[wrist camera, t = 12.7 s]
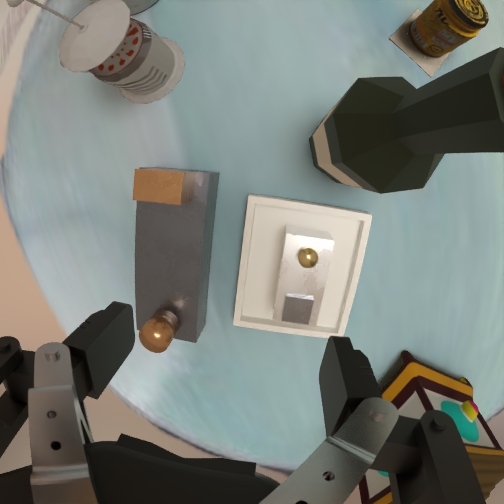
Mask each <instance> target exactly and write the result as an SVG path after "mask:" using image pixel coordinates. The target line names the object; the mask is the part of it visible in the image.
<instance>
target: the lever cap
mask: <svg viewBox="0 0 504 504" xmlns="http://www.w3.org/2000/svg"><path fill="white" fill-rule="evenodd" d="M334 242H335V241H334V239H333V238H332V236H331V235H330V234H329V232H326V231H319V230H313V229H307V228H300V227H294V226H287V225H286V228H285V235H284V241H283V248H282V254H281V260H280V267H279V273H278V279H277V285H276V291H275V297H274V303H273V314H272V321H274V322H281V323H289V324H296V325H304V326H312V327H316V324H317V320H318V316H319V312H320V308H321V303H322V299H323V295H324V290H325V286H326V281H327V277H328V272H329V267H330V262H331V257H332V252H333V247H334Z"/></svg>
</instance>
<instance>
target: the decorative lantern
mask: <svg viewBox="0 0 504 504" xmlns="http://www.w3.org/2000/svg"><path fill="white" fill-rule="evenodd" d="M401 357H402V361H403V365H402V368H401V369H400V371H399V372H398V373H397V374H396V375H395V377H394V378H393V379H392V380H391V381H390V382H389V384H388V385H387V386H386V387H385V388H384V389H383V390H382V391H381V395H382V398H383V399H385V400H387V401H389V402H391V403H392V404H393V405H394V406H395V407H396V408H397V410H398V413H399V415H401V416H405V417H410V418H415V419H420V418H421V417H422V415H423V414H424V413H425V412H426V411H429V410H440V411H443V412H445V413H447V414H448V415H450V416H451V417H452V418H453V420H454V422H455V424H456V426H457V428H458V431H459V433H460V435H461V438H462V440H463V442H464V445H465V447H466V450H467V452H468V455H469V457H470V460H471V462H472V465H473V467H474V470H475V473H476V475H477V478H478V481H479V484H480V487H481V490H482V492H483V495H484V498H485V500H486V499H487V498H488V497H489V495H490V491H492V490H493V489H494V488H495V485H496V484H497V483H499V482H500V481H501V480H502V479H503V478H504V450H503V449H502V448H501V447H500V445H499V443H498V442H497V440H496V438H495V436H494V435H493V433H492V431H491V430H490V428H489V426H488V425H487V423H486V422H485V420H484V418H483V417H482V415H481V414H480V412H479V410H478V407H477V405H476V404H475V403H474V402H473V388H472V385H471V384H470V383H469V381H468V380H467V379H466V378H461V379H460V380H458V379H456V378H453V377H451V376H449V375H447V374H444V373H442V372H440V371H438V370H436V369H433V368H431V367H429V366H427V365H425V364H422V363H420V362H419V361H417V360H416V359H414V357H413V356H412V355H411V354H410V353H409V352H408V351H404V352H403V353H402V355H401ZM359 490H360V495H361V503H362V504H393V500H392V494H391V487H390V481H389V475H388V472H382V471H377V470H372V469H368V470H367V472H366V473H365V475H364V476H363V478H362V479H361V481H360V482H359Z"/></svg>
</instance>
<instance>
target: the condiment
mask: <svg viewBox="0 0 504 504" xmlns="http://www.w3.org/2000/svg"><path fill="white" fill-rule="evenodd" d="M488 20H489V19H488V13H487V11H486V9H485V7H484V5H483V4H482V3H481V1H480V0H434V1H433V2H432V3H431V4H430V5H429V6H428V7H427V8H426V9H425V10H424V11H423V12H421V11H420V10H419V9H417V10H416V11H415V12H414V13H413V14H412V15H411V16H410V17H409V18H408V19H407V20H406V21H405V22H404V23H403V24H402V26H401V27H400V28H399V29H398V30H397V31H396V32H395V33H394V34H393V35H392V36H391V37H390V39H391V40H392V41H393V42H394V43H395V44H396V45H397V46H398V47H400V48H401V49H402V50H403V51H404V52H405V53H406V54H407V55H408V56H409V57H411V58H412V59H413V61H414V62H416V63H417V64H418V65H419V66H420V67H421V68H422V69H423V70H424V71H425V72H427V73H428V74H429V75H430V76H431V77H432V76H433V74H434V73H435V72H436V71H437V69H438V68H439V67H440V66H441V64H442V63H443V62H444V60H445V59H446V58H447V56H448V55H449V54H450V53H451V51H453V50H454V49H455V48H457V47H458V46H460V45H462V44H464V43H465V42H467V41H469V40H470V39H472V38H473V37H475V36H476V35H477V34H478V32H479V30H481V28H483V27H485V26H486V25H487V23H488ZM407 33H408V34H407ZM425 57H429V58H425Z"/></svg>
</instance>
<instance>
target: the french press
mask: <svg viewBox="0 0 504 504" xmlns="http://www.w3.org/2000/svg"><path fill="white" fill-rule="evenodd" d="M23 1H24V0H7V3H8V5H9V6H10V7H17V6H18V5H20V4H21V3H22V2H23ZM27 1H29V2H31V3H33V4H36V5H38V6H40V7H42V8H44V9H46V10H48V11H50V12H52V13H53V14H55V15H57V16H59V17H61V18H63V19H65V20H67V21H69V22H70V24H69V26H68V27H67V29H66V30H65V32H64V35H63V37H62V40H61V43H60V59H61V61H60V63H61V65H62V66H63V67H65V68H67V69H69V70H70V71H72V72H91V73H93V74H94V76H95V77H97V78H98V79H99V80H102V81H104V80H105V81H106V83H109V84H111V85H114V86H116V87H118V88H119V90H120V91H121V93H122V95H123V96H124V97H125V98H127V99H128V100H130V101H132V102H133V103H143V104H147V103H150V102H153V101H156V100H160V99H161V98H162V97H164V96H165V95H167V94H168V93H169V92H171V91H172V90H173V89H174V87H175V86H176V84H177V83H178V82H179V80H180V79H181V76H182V73H183V69H184V66H185V62H184V55H183V51H182V50H181V48H180V47H179V46H178V44H177V43H176V42H174V41H172V40H169V39H167V38H160V37H158V35H157V34H155V33H154V32H153V31H152V30H151V29H150V28H149V27H148V26H147V25H146V24H144V23H142V22H139V21H137V20H134V19H132V18H130V10H129V8H128V7H127V5H126V4H125V3H124V1H121V0H99V1H97V2H95V3H93V4H91V5H89V6H87V7H86V8H85V9H84V10H82V11H81V12H80V13H79V14H78V15H77V16H76V17H75V18H74V19H73V20H71V19H69V18H67V17H65V16H63V15H62V14H60V13H58V12H56V11H54V10H52V9H50V8H48V7H46V6H44V5H42V4H40V3H38V2H36V1H34V0H27ZM142 27H145V28H142ZM146 28H147V29H146ZM148 29H149V30H148ZM143 30H146V31H150V32H146V31H143ZM143 33H148V34H151V35H146V34H143ZM156 35H157V36H156ZM144 36H149V37H151V38H148V37H144ZM105 81H104V82H105Z"/></svg>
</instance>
